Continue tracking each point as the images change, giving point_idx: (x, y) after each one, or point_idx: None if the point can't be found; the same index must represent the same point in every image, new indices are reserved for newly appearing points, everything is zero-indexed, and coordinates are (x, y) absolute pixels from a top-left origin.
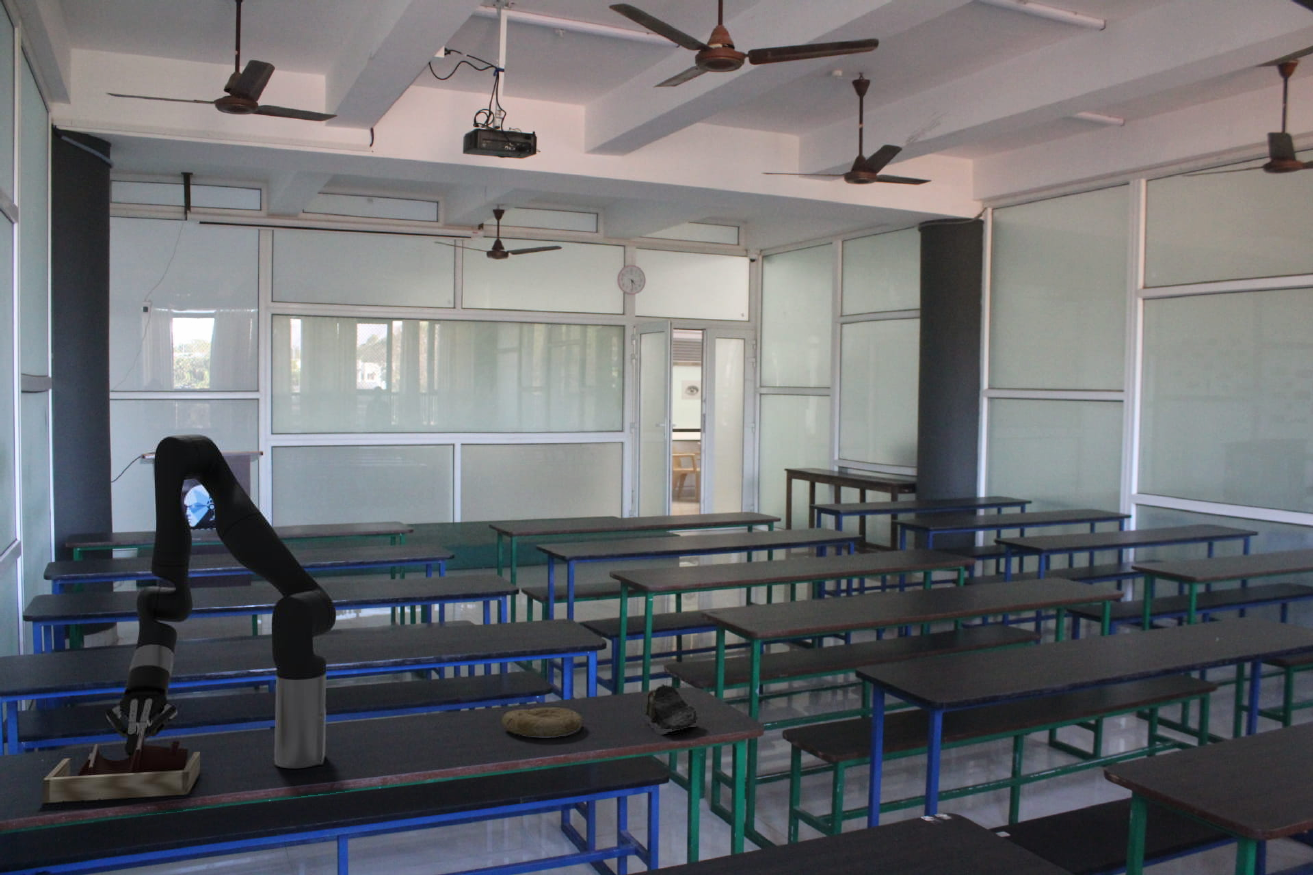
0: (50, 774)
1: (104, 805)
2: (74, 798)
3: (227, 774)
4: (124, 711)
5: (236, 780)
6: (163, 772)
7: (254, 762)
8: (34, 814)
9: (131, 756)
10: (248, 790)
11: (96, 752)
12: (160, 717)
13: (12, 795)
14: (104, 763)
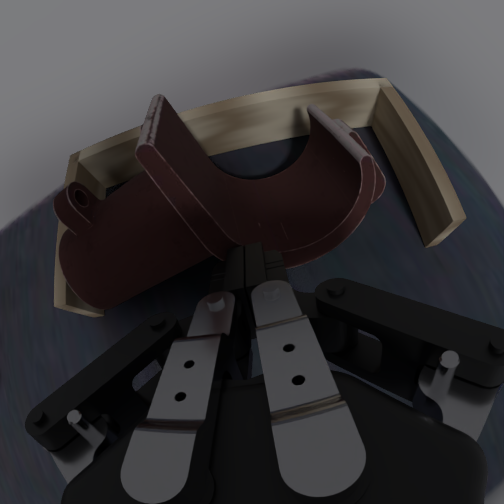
0: (400, 103)
1: None
2: None
3: (45, 303)
4: (393, 400)
5: (32, 265)
6: (115, 139)
7: (22, 378)
8: (349, 77)
9: (243, 238)
10: (22, 216)
11: (338, 140)
12: (107, 373)
13: (463, 155)
14: (327, 207)
